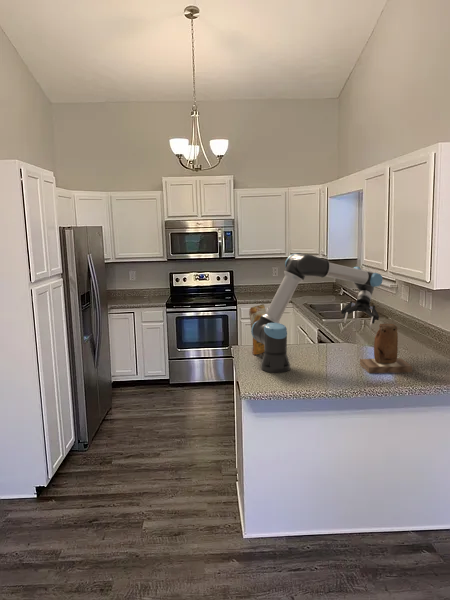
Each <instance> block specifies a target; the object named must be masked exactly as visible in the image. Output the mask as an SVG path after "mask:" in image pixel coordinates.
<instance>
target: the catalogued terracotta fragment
mask: <svg viewBox="0 0 450 600" xmlns="http://www.w3.org/2000/svg"><path fill="white" fill-rule="evenodd" d="M378 327H379V329H378V330H377V332H376V334H375V336H374V342H373V343H374V344H373V345H374V346H373V357H374V358H373V359H375V361H376V362H378V363H395V362H396V361H397V358H398V351H399V348H398V344H399V343H398V342H399V339H398V337H399V336H398V329H399V328H398V326H397V325H396V324H394V323H379V326H378Z"/></svg>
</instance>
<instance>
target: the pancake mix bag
mask: <svg viewBox="0 0 450 600" xmlns="http://www.w3.org/2000/svg"><path fill="white" fill-rule="evenodd" d="M248 311H249V313H248V315H249V319H250V329H251V328H252V326H253V324H254V323H255V322H256V321H258V320H259V319H260V317H261V316H262V315H264V314H266V312H267V310H266V306H265V303H262V304H259V305H254V306H252V307H250V308H249V310H248ZM263 353H264V344H262V343H260V342H258V341H256V340H255V339H254V338H253V337H252V355H253V356H255V355H261V354H263Z"/></svg>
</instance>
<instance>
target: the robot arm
mask: <svg viewBox="0 0 450 600" xmlns="http://www.w3.org/2000/svg"><path fill="white" fill-rule="evenodd" d="M284 266H285V269H284V271H283V274H284V277H283V279H282V281H281V282H280V284H279V287H278V289H277V290H276V293H275V295H274V296H273V298H272V300H271V302H270V304H269V306H268V308H267V310H266V314H264V315H262V316H261V317H260V319H259V320H258V321H256V322H255V323H254V324H253V326H252V328H251V327H250V330H251V331H250V332H251V336H252V339H253V338H254V339H255V340H256V341H258V342H260V343H262V344H264V354H263V357H262V361H261V365H260V369H261V370H262V371H264V372H266V373H267V372H268V373H285V372H288V371H290V369H291V363H290V361H289V360H290V359H289V357H288V354H287V351H288V349H287V348H288V347H287V346H288V343H287V342H288V339H287V338H288V330H287V327H286V325H285V324H282V323H281V322H280V320H281V318H282V316H283V314H284V312H285V311H286V309H287V306H288V304H289V303H290V301H291V299H292V297H293V295H294V293H295V291H296V289H297V287H298V285H299V284H300V283H302V282H304V279H305V278H306V277H317V278H318V277H319V278H326V277H327V278H332V279H336V280H342V281H347V282H351V283H353V284H354V286H355V287H356V288H357V289H358V294H357V298H356V302H353V301H350V302H349V303H348V304H347V305H346V306H344V307H343V308H342V309H341V315H343V316H342V318H343V319H344V320H343V323H344V324H346V323H347V318H348V315H349V314H352V313H354V312H357V311H358V312H362V313H363V312H364V313H365V314H367V315H368V317H370V322H369V329H372V325H373V324H375V322H376V321H379V319H380V315H379V313H378V312H377V309H376V306H375V305H374V304H373V305H372V306H371V300H372V298H373V293H374V289H375V288H377V287H380V286H381V285H382V283H383V276H382V274H380V273H377V272H372V271H367V270H364V269H361V268H360V266H354V267H350V266H346V265H341V264H337V263H333V262H330V260H328V259H326V258H325V259H324V258H321V257H318V256H316V255H313V254H310V253H308V254H307V253H301V252H297V253H292V254H290V255H289V256H288V257H287V258H286V260H285V262H284Z"/></svg>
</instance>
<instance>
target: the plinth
mask: <svg viewBox="0 0 450 600" xmlns="http://www.w3.org/2000/svg"><path fill="white" fill-rule="evenodd" d="M359 365H360V366H361V367H362V368H363V370H365V371H366V372H367V373H368V374H389V373H390V374H393V373H413V365H411V364H410V363H408V362H407V361H406V360H404V359H403V358H401V357H399V358H398V357H397V361H396V362H395V363H378V362H376V361H375V358H360V359H359Z"/></svg>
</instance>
